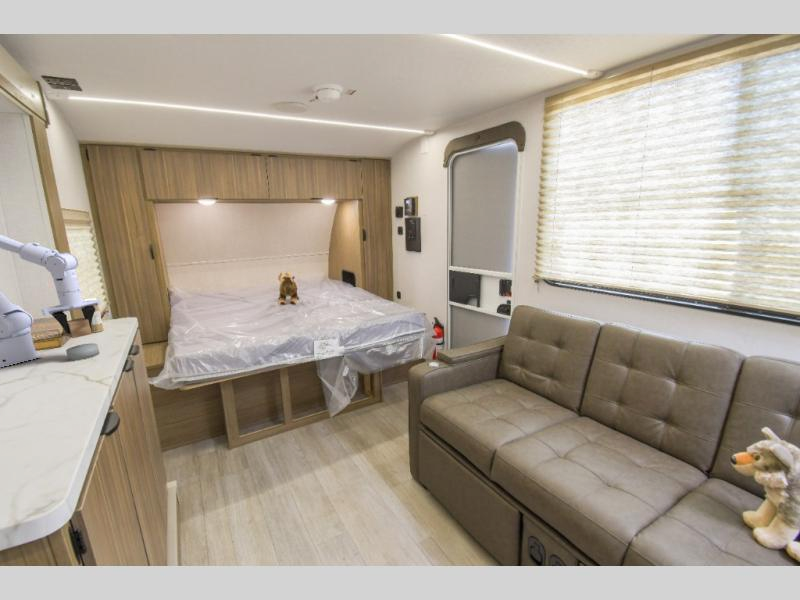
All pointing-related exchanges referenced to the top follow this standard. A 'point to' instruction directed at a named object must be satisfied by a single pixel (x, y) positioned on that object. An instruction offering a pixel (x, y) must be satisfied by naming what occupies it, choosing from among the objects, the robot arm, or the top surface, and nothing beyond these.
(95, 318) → the sprinkles bottle
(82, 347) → the grey rounded dome
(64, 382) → the top surface
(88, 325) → the walnut block
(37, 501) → the top surface
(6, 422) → the top surface
